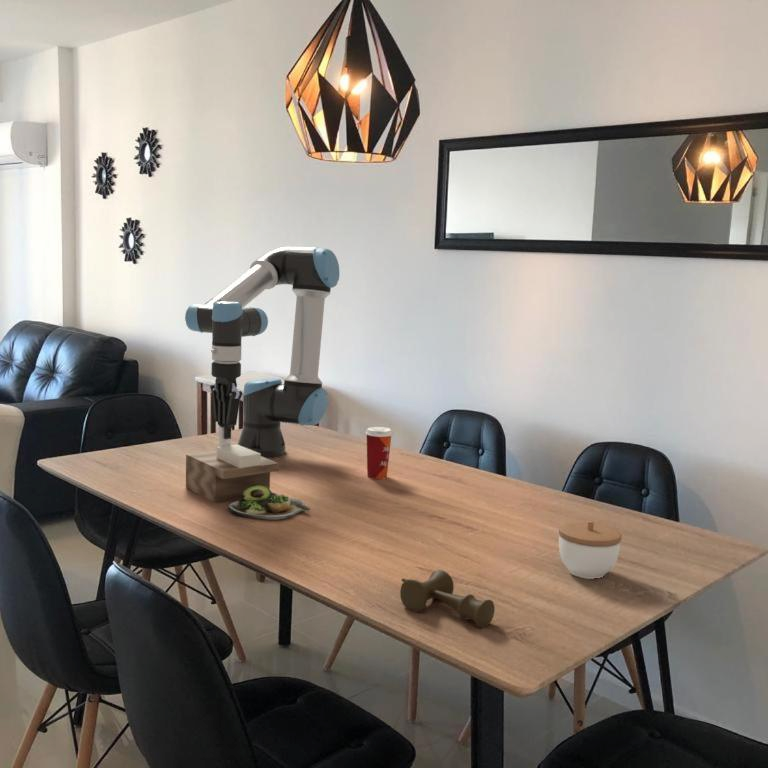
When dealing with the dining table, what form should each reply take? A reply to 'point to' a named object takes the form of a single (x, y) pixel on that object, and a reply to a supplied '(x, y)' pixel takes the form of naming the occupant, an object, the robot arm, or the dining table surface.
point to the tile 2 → (244, 458)
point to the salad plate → (266, 504)
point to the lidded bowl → (588, 548)
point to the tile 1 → (223, 451)
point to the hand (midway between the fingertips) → (224, 450)
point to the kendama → (445, 598)
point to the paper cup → (378, 451)
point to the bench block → (224, 476)
